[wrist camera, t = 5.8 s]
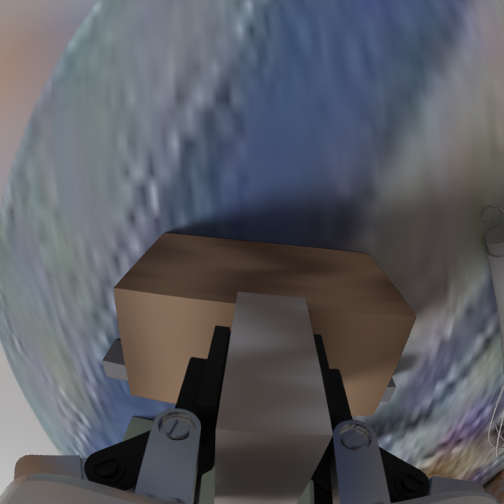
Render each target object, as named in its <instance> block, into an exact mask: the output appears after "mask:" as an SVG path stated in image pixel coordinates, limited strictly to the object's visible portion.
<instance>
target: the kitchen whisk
mask: <svg viewBox="0 0 504 504" xmlns="http://www.w3.org/2000/svg"><path fill="white" fill-rule="evenodd" d="M488 207H496V208H498V209H499V210H501V212H502V213H503V214H504V211H503V210H502V209H501V208H500V207H498V206H497V205H493V204H491V205H488V206H486V207H485V209H484V212H483V221H484V216H485V211H486V209H487V208H488ZM485 240H486V244H487V246H486V253H487V258H488V262H489V266H490V271H491V276H492V281H493V286H494V291H495V297H496V303H497V310H498V317H499V324H500V333H501V343H502V354H503V371H504V225H500V226H497V227H494V228H493V229H491V230H490V231H489V232H487V234H486V236H485ZM503 390H504V384H503V387H502V389H501V392H500V395H499V398H498V402H499V400H500V397H501V395H502V392H503ZM498 402H497V405H496V408H497V406H498ZM496 408H495V411H496ZM495 411H494V413H493V416H492V420H493V417H494V414H495ZM503 418H504V413H503V417H502V422H503ZM492 420H491V423H492ZM502 422H501V426H502ZM491 423H490V428H491ZM495 425H496V422H495ZM501 426H500V431H501ZM490 428H489V442H490ZM496 429H497V425H496ZM500 431H498V429H497V432H498V434H499V435H498V440H499V436H500V437H501V438H502V436H501V435H500ZM502 439H503V438H502ZM498 440H497V446H498ZM503 440H504V439H503ZM490 445H491V446H493V445H492V444H491V442H490ZM497 446H496V447H495V446H493V447H494V448H496V455H497V448H504V447H497ZM503 454H504V453H503ZM503 454H502V455H503ZM502 455H500V456H502ZM500 456H498V455H497V457H500Z"/></svg>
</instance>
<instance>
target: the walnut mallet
mask: <svg viewBox="0 0 504 504" xmlns="http://www.w3.org/2000/svg"><path fill="white" fill-rule="evenodd" d="M114 295H115V303H116V311H117V318H118V325H119V332H120V338H121V345H122V350H123V356H124V362H125V367H126V372H127V377H128V382H129V387H130V391H131V395H134V396H139V397H144V398H148V399H153V400H158V401H164V402H169V403H175V404H176V403H177V400H178V396H179V393H180V390H181V386H182V383H183V380H184V376H185V373H186V370H187V366H188V363H189V360H190V358H191V357H197V358H204V359H207V358H208V354H209V350H210V345H211V341H212V337H213V333H214V329H215V326H216V325H217V326H226V327H230V331H231V337H230V343H229V349H228V355H227V361H226V368H225V374H224V380H223V387H222V393H221V399H220V405H219V412H218V418H217V425H216V441H215V499H214V504H297V502H298V500H299V499H300V497H301V495H302V493H303V492H304V490H305V488H306V486H307V484H308V483H309V481H310V479H311V477H312V475H313V473H314V472H315V470H316V468H317V466H318V464H319V462H320V460H321V458H322V456H323V454H324V452H325V450H326V448H327V446H328V444H329V442H330V440H331V438H332V436H333V433H332V427H331V422H330V416H329V411H328V405H327V400H326V395H325V390H324V385H323V380H322V375H321V370H320V365H319V360H318V355H317V350H316V345H315V341H314V336H313V334H320V335H321V336H322V340H323V344H324V348H325V352H326V356H327V360H328V364H329V369H339V370H340V373H341V377H342V380H343V384H344V388H345V392H346V396H347V399H348V403H349V407H350V411H351V415H352V416H363V415H373V414H374V412H375V410H376V408H377V406H378V404H379V402H380V400H381V398H382V396H383V394H384V392H385V390H386V388H387V386H388V384H389V382H390V380H391V377H392V375H393V373H394V371H395V369H396V366H397V364H398V362H399V359H400V357H401V355H402V352H403V350H404V347H405V345H406V342H407V340H408V337H409V335H410V332H411V330H412V327H413V324H414V322H415V319H416V315H415V313H414V312H413V311H412V309H411V308H410V306H409V305H408V304H407V302H406V301H405V300H404V298H403V297H402V296H401V294H400V293H399V292H398V290H397V289H396V288H395V286H394V285H393V284H392V282H391V281H390V280H389V279H388V277H387V276H386V275H385V273H384V272H383V271H382V269H381V268H380V267H379V266H378V264H377V263H376V262H375V261H374V259H373V258H372V257H371V256H370V254H368V253H359V252H350V251H340V250H331V249H322V248H312V247H303V246H293V245H284V244H274V243H264V242H254V241H244V240H234V239H224V238H214V237H203V236H193V235H183V234H172V233H164V234H163V235H162V236H161V237H160V238H159V239H158V240H157V241H156V242H155V243H154V244H153V245H152V246H151V247H150V248H149V249H148V251H147V252H146V253H145V254H144V255H143V256H142V257H141V258H140V259H139V260H138V261H137V262H136V264H135V265H134V266H133V267H132V268H131V269H130V270H129V271H128V272H127V273H126V275H125V276H124V277H123V278H122V279H121V280H120V281H119V282H118V284H117V285H116V286H115V287H114Z"/></svg>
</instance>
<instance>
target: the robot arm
mask: <svg viewBox="0 0 504 504" xmlns="http://www.w3.org/2000/svg"><path fill="white" fill-rule="evenodd" d="M313 336H314V341H315V345H316V350H317V355H318V360H319V365H320V370H321V375H322V380H323V385H324V390H325V395H326V400H327V405H328V411H329V416H330V422H331V427H332V433H333V436H332V438H331V440H330V442H329V444H328V446H327V448H326V450H325V452H324V454H323V456H322V458H321V460H320V462H319V464H318V466H317V468H316V470H315V472H314V473H313V475H312V477H311V479H310V482H309V486H310V504H501V503H500V502H499V501H498V499H496V498H495V497H494V496H492V495H490V494H487V493H485V490H484V488H483V486H482V485H480V484H479V483H477V482H474V481H466V480H458V479H451V478H444V477H437V476H432V477H431V478H428V477H427V476H426V475H425V473H423V472H422V471H421V470H419V469H417V468H415V467H414V466H412V465H410V464H408V463H406V462H405V461H403V460H401V459H399V458H398V457H396V456H394V455H392V454H391V453H389V452H387V451H385V450H384V449H382V448H380V447H379V445H378V441H377V437H376V434H375V432H374V430H373V429H372V428H371V427H370V426H369V425H367V424H366V423H364V422H361V421H358V420H353V419H352V415H351V411H350V407H349V403H348V399H347V396H346V392H345V388H344V384H343V380H342V377H341V373H340V370H339V369H329V364H328V360H327V356H326V352H325V348H324V344H323V340H322V336H321V335H320V334H313ZM230 337H231V331H230V327H226V326H217V325H216V326H215V329H214V333H213V337H212V341H211V345H210V350H209V354H208V358H207V359H204V358H197V357H191V358H190V360H189V363H188V366H187V370H186V373H185V376H184V380H183V383H182V386H181V390H180V393H179V396H178V400H177V403H176V406H175V408H173V409H168V410H165V411H163V412H161V413H160V414H158V415H157V416H156V418H155V420H154V421H153V425H152V428H151V430H149V431H147V432H145V433H142V434H140V435H137V436H135V437H133V438H130V439H128V440H125V441H123V442H120V443H118V444H115V445H113V446H110V447H107V448H105V449H102V450H100V451H97V452H95V453H93V454H91V455H90V456H89V457H88V458H81V457H80V456H79V455H69V456H53V455H25V456H23V457H22V458H20V459H19V460H18V461H17V463H16V466H15V475H14V476H15V477H14V481H12V482H11V483H10V484H9V486H8V487H7V488H6V489H5V491H4V492H3V493H2V495H1V496H0V504H200V498H201V489H202V480H203V474H205V473H207V472H209V471H210V470H212V469H213V467H215V441H216V425H217V418H218V412H219V405H220V399H221V393H222V387H223V380H224V374H225V368H226V361H227V355H228V349H229V343H230Z"/></svg>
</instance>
